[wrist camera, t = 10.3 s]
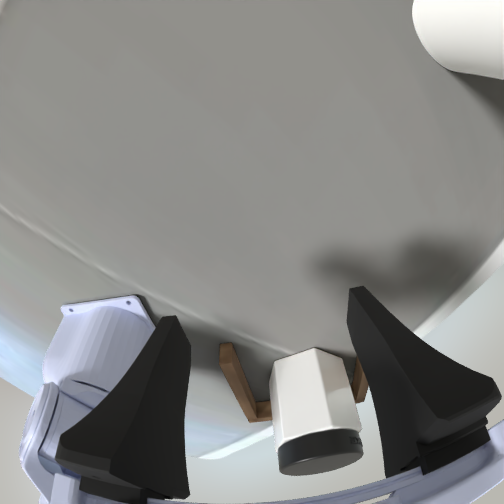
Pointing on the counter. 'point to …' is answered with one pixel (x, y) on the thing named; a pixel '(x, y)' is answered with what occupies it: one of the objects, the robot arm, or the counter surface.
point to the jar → (313, 414)
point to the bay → (263, 409)
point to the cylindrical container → (463, 34)
